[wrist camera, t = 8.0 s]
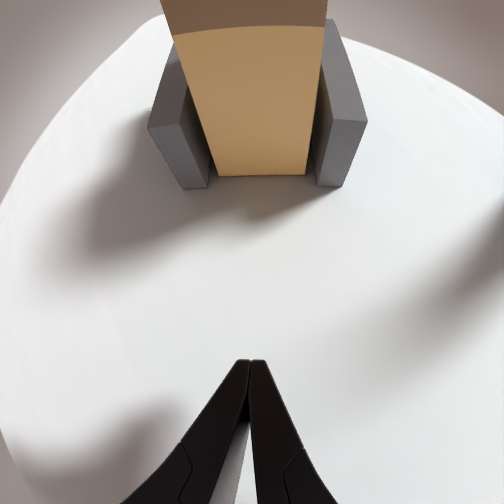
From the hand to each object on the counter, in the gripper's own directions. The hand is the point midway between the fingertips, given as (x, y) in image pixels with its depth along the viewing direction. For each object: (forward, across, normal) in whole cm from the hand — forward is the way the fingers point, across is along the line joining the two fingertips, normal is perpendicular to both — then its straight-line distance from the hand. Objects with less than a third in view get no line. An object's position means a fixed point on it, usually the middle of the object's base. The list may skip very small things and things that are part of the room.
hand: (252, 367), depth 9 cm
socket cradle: (+14, 0, -6) cm, 15 cm away
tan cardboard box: (+13, 0, -5) cm, 14 cm away
